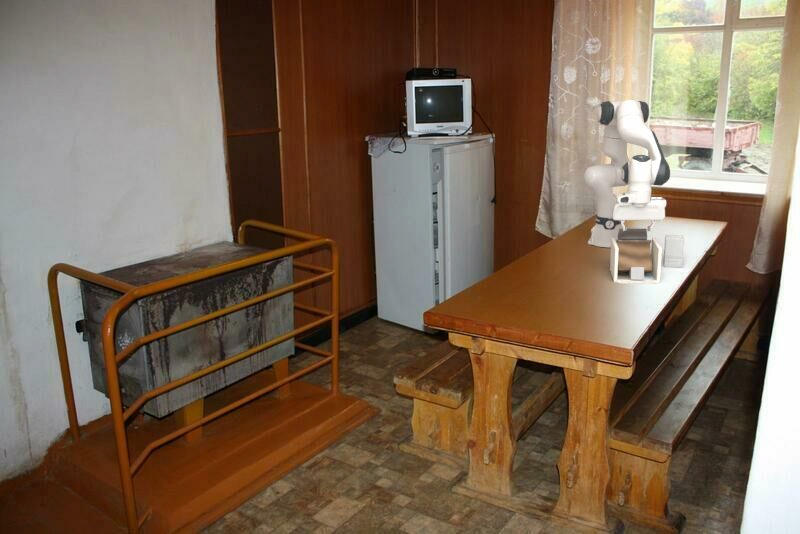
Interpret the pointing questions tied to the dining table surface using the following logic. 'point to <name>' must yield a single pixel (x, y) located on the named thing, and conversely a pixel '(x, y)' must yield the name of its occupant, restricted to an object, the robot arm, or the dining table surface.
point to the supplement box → (673, 250)
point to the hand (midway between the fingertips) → (637, 230)
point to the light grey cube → (636, 273)
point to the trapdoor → (634, 250)
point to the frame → (655, 259)
